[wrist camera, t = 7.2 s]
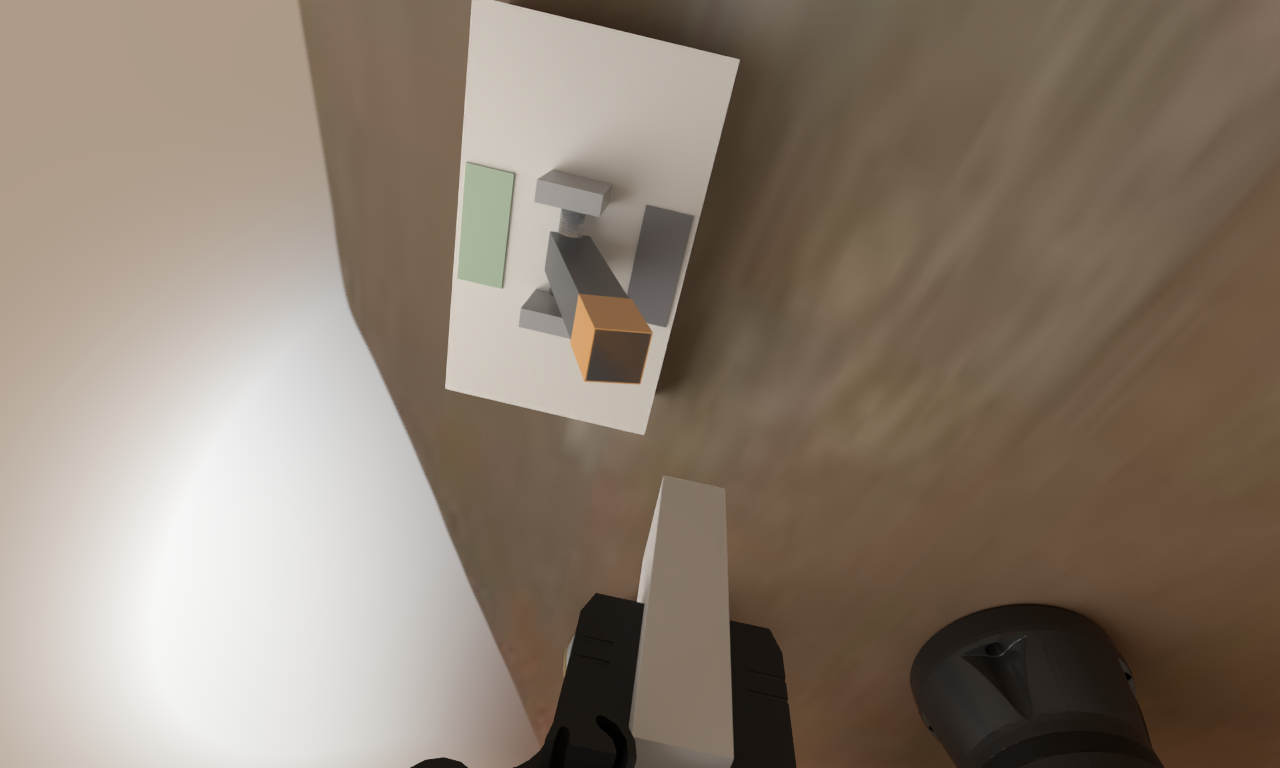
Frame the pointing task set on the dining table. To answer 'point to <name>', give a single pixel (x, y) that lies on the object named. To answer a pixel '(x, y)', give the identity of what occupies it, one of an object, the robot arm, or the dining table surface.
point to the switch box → (574, 197)
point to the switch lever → (595, 307)
